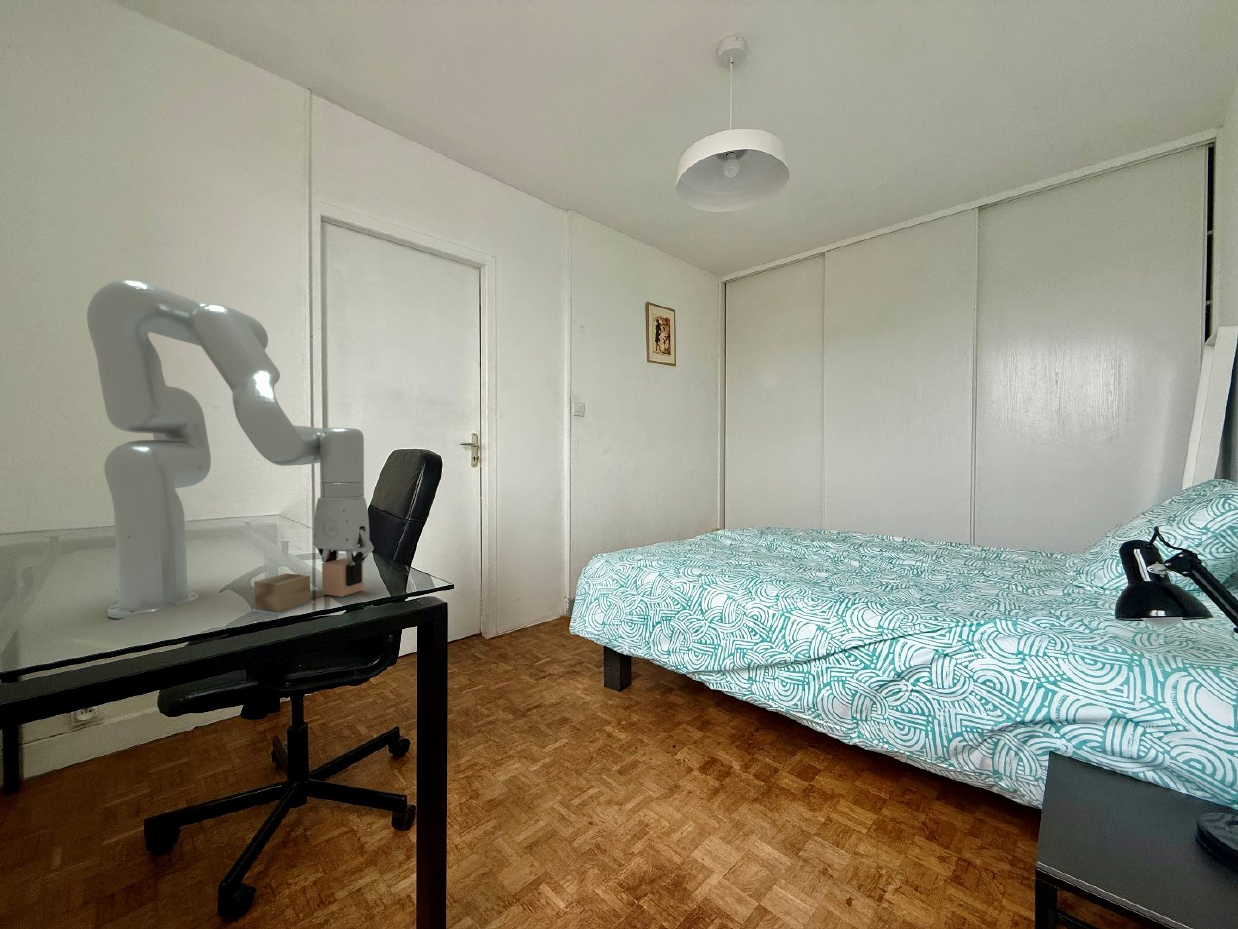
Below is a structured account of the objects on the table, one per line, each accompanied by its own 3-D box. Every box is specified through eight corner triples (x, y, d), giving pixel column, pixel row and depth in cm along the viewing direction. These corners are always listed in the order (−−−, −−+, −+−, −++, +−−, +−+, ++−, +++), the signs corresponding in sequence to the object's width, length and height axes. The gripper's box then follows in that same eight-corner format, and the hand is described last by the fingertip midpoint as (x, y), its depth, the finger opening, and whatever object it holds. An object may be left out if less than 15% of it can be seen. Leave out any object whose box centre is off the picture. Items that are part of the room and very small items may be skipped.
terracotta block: (322, 593, 98) (322, 563, 97) (344, 587, 102) (344, 557, 102) (341, 596, 96) (341, 565, 96) (363, 589, 101) (363, 560, 100)
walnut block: (255, 609, 89) (254, 581, 89) (287, 599, 95) (286, 573, 95) (279, 613, 87) (277, 584, 87) (310, 602, 93) (309, 576, 93)
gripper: (293, 490, 98) (294, 582, 98) (359, 494, 92) (360, 593, 93) (327, 487, 105) (328, 573, 105) (391, 491, 99) (391, 582, 100)
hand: (343, 581), depth 99 cm, fingers closed on terracotta block, 4 cm apart
